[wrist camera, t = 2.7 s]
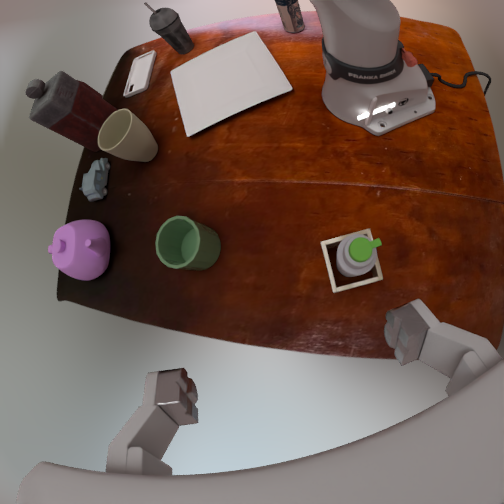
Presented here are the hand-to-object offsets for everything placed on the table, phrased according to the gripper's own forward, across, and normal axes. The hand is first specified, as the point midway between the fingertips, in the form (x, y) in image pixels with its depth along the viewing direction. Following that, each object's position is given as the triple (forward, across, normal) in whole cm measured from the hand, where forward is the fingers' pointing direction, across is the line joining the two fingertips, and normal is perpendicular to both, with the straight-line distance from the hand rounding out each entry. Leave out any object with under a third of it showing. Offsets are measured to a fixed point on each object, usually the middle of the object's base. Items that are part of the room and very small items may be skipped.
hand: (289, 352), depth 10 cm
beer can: (+60, -23, -25) cm, 69 cm away
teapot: (+48, +34, +13) cm, 60 cm away
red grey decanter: (+67, +28, -12) cm, 74 cm away
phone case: (+74, +17, -25) cm, 79 cm away
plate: (+57, -4, -14) cm, 59 cm away
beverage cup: (+71, +3, -28) cm, 76 cm away
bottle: (+27, -14, +18) cm, 35 cm away
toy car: (+58, +31, -1) cm, 66 cm away
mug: (+56, +17, -4) cm, 59 cm away
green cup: (+38, +9, +14) cm, 42 cm away
